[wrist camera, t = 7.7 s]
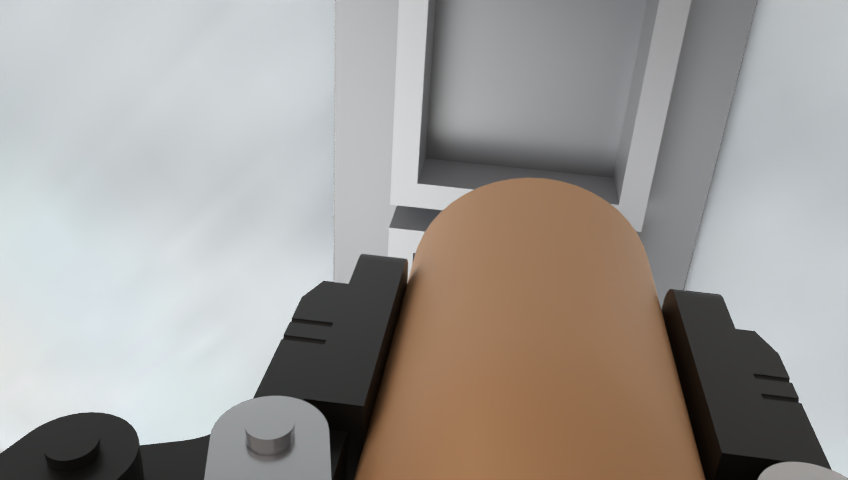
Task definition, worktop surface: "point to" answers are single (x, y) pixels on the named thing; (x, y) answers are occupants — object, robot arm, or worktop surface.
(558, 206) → the jaw peg orange
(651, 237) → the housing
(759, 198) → the worktop surface
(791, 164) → the worktop surface
